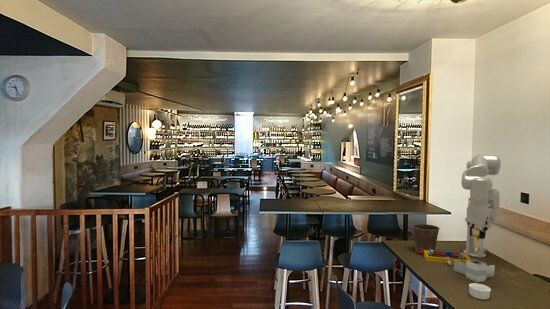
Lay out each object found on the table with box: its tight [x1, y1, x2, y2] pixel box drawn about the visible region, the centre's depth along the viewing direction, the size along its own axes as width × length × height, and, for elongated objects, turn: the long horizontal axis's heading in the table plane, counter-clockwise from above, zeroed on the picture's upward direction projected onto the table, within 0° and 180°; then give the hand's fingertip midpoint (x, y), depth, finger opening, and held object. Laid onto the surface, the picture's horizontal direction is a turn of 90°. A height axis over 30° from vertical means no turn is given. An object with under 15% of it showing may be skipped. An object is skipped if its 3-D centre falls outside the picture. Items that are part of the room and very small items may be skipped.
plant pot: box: [412, 223, 441, 253], centre depth 230 cm, size 16×16×16 cm
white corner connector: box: [453, 259, 496, 283], centre depth 192 cm, size 16×16×9 cm
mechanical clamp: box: [415, 250, 472, 266], centre depth 213 cm, size 18×6×30 cm
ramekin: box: [468, 282, 492, 301], centre depth 166 cm, size 9×9×4 cm
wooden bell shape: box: [472, 228, 481, 251], centre depth 185 cm, size 5×5×11 cm
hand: (477, 236), depth 185 cm, fingers closed on wooden bell shape, 5 cm apart
